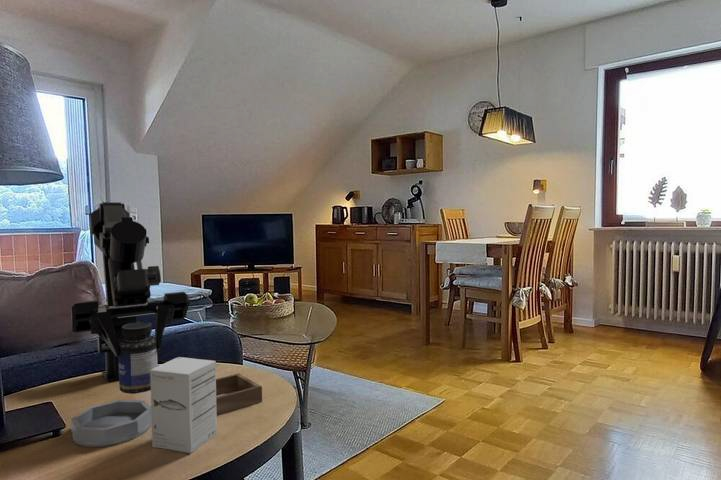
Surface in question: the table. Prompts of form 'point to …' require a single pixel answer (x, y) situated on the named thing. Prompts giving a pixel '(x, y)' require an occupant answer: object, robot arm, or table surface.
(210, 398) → the supplement box
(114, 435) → the tray
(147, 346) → the pill bottle
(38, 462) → the table surface
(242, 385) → the holder
